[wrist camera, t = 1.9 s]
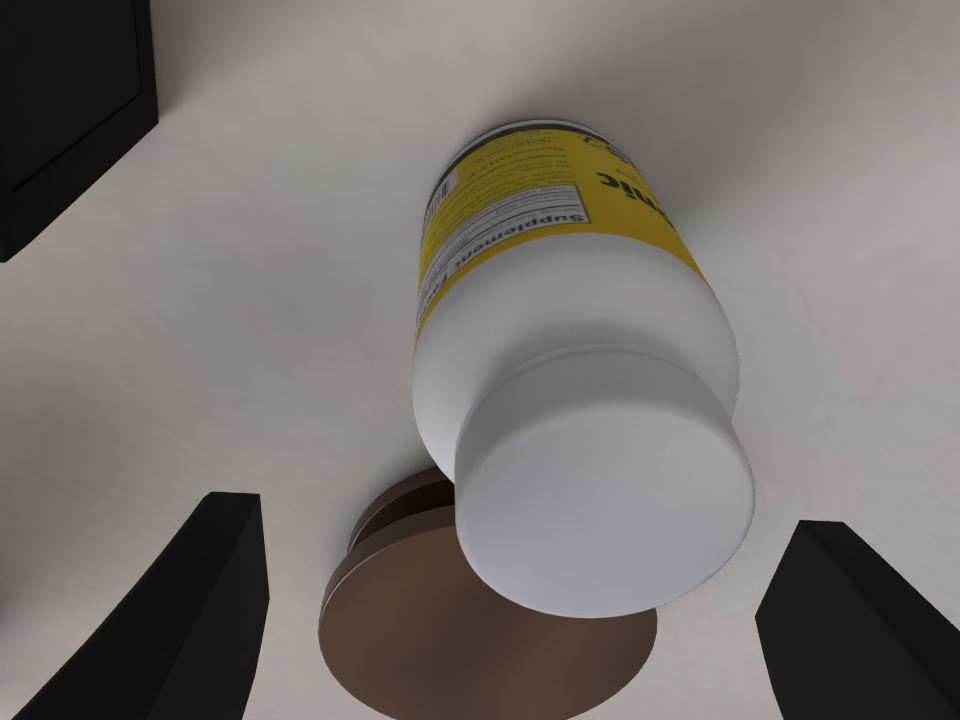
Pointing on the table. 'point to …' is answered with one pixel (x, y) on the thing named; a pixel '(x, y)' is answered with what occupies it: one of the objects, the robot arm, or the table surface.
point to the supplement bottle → (575, 378)
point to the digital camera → (67, 103)
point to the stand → (459, 626)
